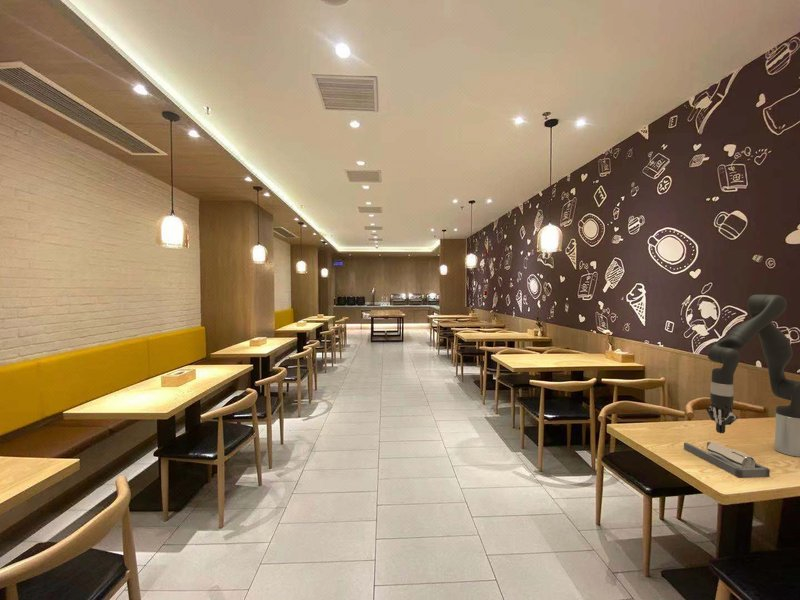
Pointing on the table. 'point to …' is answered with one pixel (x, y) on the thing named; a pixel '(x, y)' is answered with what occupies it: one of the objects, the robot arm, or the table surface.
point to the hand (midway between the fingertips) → (720, 432)
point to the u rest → (739, 472)
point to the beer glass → (731, 456)
